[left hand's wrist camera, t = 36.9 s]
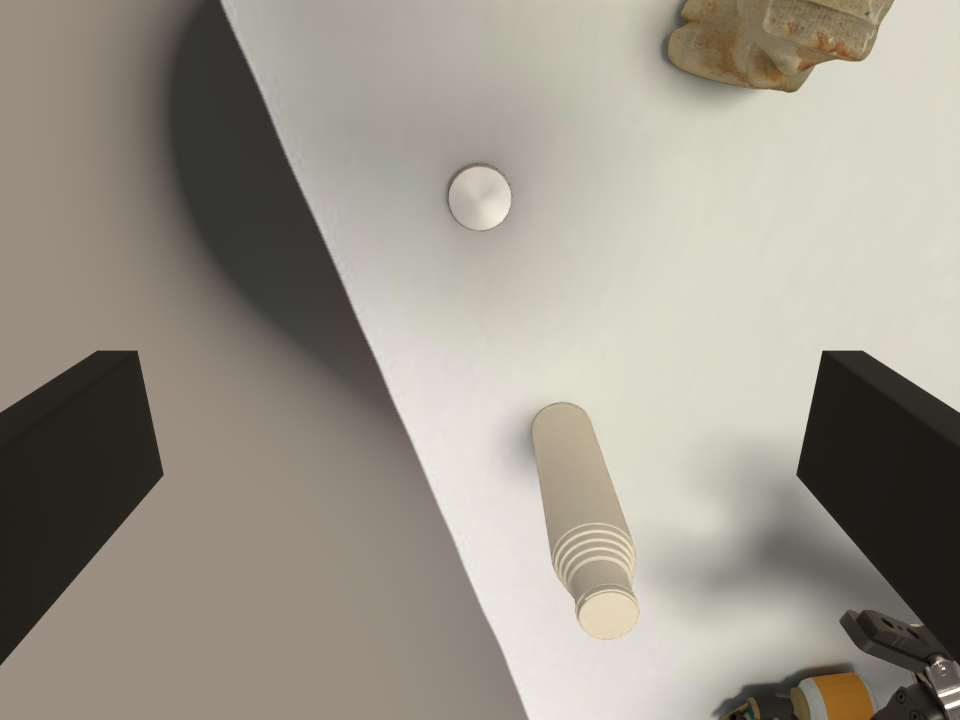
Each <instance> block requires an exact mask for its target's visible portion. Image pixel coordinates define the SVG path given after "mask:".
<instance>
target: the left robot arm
mask: <svg viewBox="0 0 960 720" xmlns="http://www.w3.org/2000/svg"><path fill="white" fill-rule="evenodd" d="M163 475H164V474H163V469H162V465H161V460H160V455H159V451H158V446H157V441H156V436H155V432H154V427H153V422H152V417H151V413H150V408H149V403H148V399H147V394H146V389H145V384H144V380H143V375H142V370H141V365H140V361H139V356H138V351H96V352H95V353H93V354H91V355H90V356H88V357H87V358H85V359H84V360H82V361H81V362H79V363H77V364H76V365H74V366H73V367H71V368H70V369H68V370H67V371H65V372H63V373H62V374H60V375H59V376H57V377H56V378H54V379H52V380H51V381H49V382H48V383H46V384H45V385H43V386H41V387H40V388H38V389H37V390H35V391H34V392H32V393H31V394H29V395H27V396H26V397H24V398H23V399H21V400H20V401H18V402H16V403H15V404H13V405H12V406H10V407H9V408H7V409H6V410H4V411H2V412H1V413H0V665H1V664H2V663H3V662H4V661H5V659H6V658H7V657H8V656H9V655H10V654H11V652H12V651H13V650H14V649H15V648H16V647H17V645H18V644H19V643H20V642H21V641H22V640H23V638H24V637H25V636H26V635H27V634H28V633H29V631H30V630H31V629H32V628H33V627H34V626H35V624H36V623H37V622H38V621H39V620H40V619H41V617H42V616H43V615H44V614H45V613H46V612H47V610H48V609H49V608H50V607H51V606H52V605H53V603H54V602H55V601H56V600H57V599H58V598H59V596H60V595H61V594H62V593H63V592H64V591H65V589H66V588H67V587H68V586H69V585H70V584H71V582H72V581H73V580H74V579H75V578H76V577H77V575H78V574H79V573H80V572H81V571H82V570H83V568H84V567H85V566H86V565H87V564H88V563H89V561H90V560H91V559H92V558H93V557H94V556H95V554H96V553H97V552H98V551H99V550H100V549H101V547H102V546H103V545H104V544H105V543H106V541H107V540H108V539H109V538H110V537H111V536H112V535H113V533H114V532H115V531H116V530H117V529H118V528H119V526H120V525H121V524H122V523H123V522H124V521H125V519H126V518H127V517H128V516H129V515H130V514H131V512H132V511H133V510H134V509H135V508H136V507H137V505H138V504H139V503H140V502H141V501H142V500H143V498H144V497H145V496H146V495H147V494H148V493H149V491H150V490H151V489H152V488H153V487H154V486H155V484H156V483H157V482H158V481H159V480H160V479H161V477H162V476H163ZM796 475H797V476H798V477H799V479H800V480H801V481H802V482H803V483H804V484H805V486H806V487H807V488H808V489H809V490H810V491H811V493H812V494H813V495H814V496H815V497H816V498H817V500H818V501H819V502H820V503H821V504H822V505H823V507H824V508H825V509H826V510H827V511H828V512H829V514H830V515H831V516H832V517H833V518H834V519H835V521H836V522H837V523H838V524H839V525H840V526H841V528H842V529H843V530H844V531H845V532H846V533H847V535H848V536H849V537H850V538H851V539H852V540H853V542H854V543H855V544H856V545H857V546H858V547H859V549H860V550H861V551H862V552H863V553H864V554H865V556H866V557H867V558H868V559H869V560H870V561H871V563H872V564H873V565H874V566H875V567H876V568H877V570H878V571H879V572H880V573H881V574H882V575H883V577H884V578H885V579H886V580H887V581H888V582H889V584H890V585H891V586H892V587H893V588H894V589H895V591H896V592H897V593H898V594H899V595H900V596H901V598H902V599H903V600H904V601H905V602H906V603H907V605H908V606H909V607H910V608H911V609H912V610H913V612H914V613H915V614H916V615H917V616H918V617H919V619H920V620H921V621H922V622H923V623H924V624H925V626H926V627H927V628H928V629H929V630H930V631H931V633H932V634H933V635H934V636H935V637H936V638H937V640H938V641H939V642H940V643H941V644H942V645H943V647H944V648H945V649H946V650H947V651H948V652H949V654H950V655H951V656H952V657H953V658H954V659H955V661H956V662H957V663H958V664H959V665H960V413H959V412H958V411H956V410H954V409H953V408H951V407H950V406H948V405H947V404H945V403H944V402H942V401H940V400H939V399H937V398H936V397H934V396H933V395H931V394H929V393H928V392H926V391H925V390H923V389H922V388H920V387H919V386H917V385H915V384H914V383H912V382H911V381H909V380H908V379H906V378H904V377H903V376H901V375H900V374H898V373H897V372H895V371H894V370H892V369H890V368H889V367H887V366H886V365H884V364H883V363H881V362H879V361H878V360H876V359H875V358H873V357H872V356H870V355H869V354H867V353H865V352H864V351H822V356H821V361H820V365H819V370H818V375H817V380H816V384H815V389H814V394H813V399H812V403H811V408H810V413H809V417H808V422H807V427H806V432H805V436H804V441H803V446H802V450H801V455H800V460H799V465H798V469H797V474H796Z"/></svg>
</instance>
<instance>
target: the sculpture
mask: <svg viewBox="0 0 960 720" xmlns="http://www.w3.org/2000/svg"><path fill="white" fill-rule="evenodd" d="M893 2H894V0H687V2H686V3H685V5H684V8H683V9H682V12H681V15H682V17H683V18H684V19H685V20H686V22H687V24H686V25H684V26H683V27H680V28H678V29H676V30H674V32H673V33H672V35H671V37H670V39H669V44H668V56H669V58H670V60H671V61H672V62H673V63H674V64H675V65H676V66H677V67H679V68H681V69H683V70H685V71H687V72H689V73H692V74H695V75H698V76H701V77H703V78H707V79H711V80H715V81H719V82H723V83H728V84H732V85H736V86H741V87H746V88H751V89H771V90H779V91H784V92H788V93H790V92H795V91H797V90H798V89H799V88H800V87H801V86H802V84H803V83H804V82H805V80H806V79H807V78H808V76H809V75H810V73H811V72H812V70H813V68H814V67H815V65H817V64H819V63H822V62H826V61H830V60H835V59H840V60H846V61H862V60H864V59H865V58H866V57H867V56H868V55H869V54H870V52H871V50H872V47H873V45H874V43H875V40H876V38H877V33H878V29H879V26H880V24H881V22H882V20H883V18H884V17H885V15H886V14H887V12H888V11H889V9H890V7H891V5H892V3H893Z"/></svg>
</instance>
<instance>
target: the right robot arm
mask: <svg viewBox="0 0 960 720" xmlns="http://www.w3.org/2000/svg"><path fill="white" fill-rule="evenodd" d="M839 622H840V624H841V625H842V626H843V628H844V629H845V631H846V632H847V634H848V635H849V637H850V638H851V639H852V641H853V642H854V644H855V645H856V646H857V647H858V648H859V649H861V650H862V651H864V652H865V653H867V654H870V655H872V656H875V657H877V658H880V659H882V660H885V661H888V662H890V663H893V664H895V665H898V666H900V667H903V668H905V669H908V670H910V671H911V674H912V677H913V679H914V682H915V684H913V685H911V686H909V687H907V688H905V687H902V686H901V687H900V688H899V689H898V690H897V691H896V692H895V693H894V694H893V695H892V697H891V699H890V701H889V702H888V704H887V706H886V707H884V708H883V709H881V710H880V711H878V712H877V713H875V714H874V715H873V716H872V717H871V718H870V719H869V720H960V677H959V676H958V673H957V670H956V667H955V665H954V663H953V661H954V660H955V659H954V658H953V657H952V656H951V655H950V654H949V652H948V651H947V650H946V649H945V648H944V647H943V645H942V644H941V643H940V642H939V641H938V640H937V638H936V637H935V636H934V635H933V634H932V633H931V631H930V630H929V629H928V628H927V627H926V626H925V625H923V626H921V625H920V624H910V625H908V624H906V623H903V622H901V621H898V620H896V619H893V618H891V617H889V616H886V615H883V614H881V613H879V612H876V611H873V610H863V611H862V612H861V614H859V613H856V612H854V611H851V610H848V611H847V612H846V613H845V614H844V615H843V616H842V618H841V619H840V620H839ZM753 720H761V719H758V718H753Z"/></svg>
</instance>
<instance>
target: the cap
mask: <svg viewBox="0 0 960 720" xmlns="http://www.w3.org/2000/svg"><path fill="white" fill-rule="evenodd" d="M448 191H449V195H448V202H449V208H450V211H451V213H452V215H453V216H454V218H455V219H456V220H457V221H458V222H459V223H460V224H461V225H462V226H464V227H466V228H468V229H471V230H475V231H485V230H489V229H492V228H494V227H496V226H498V225H499V224H500V223H501V222H502V221H503V220H504V219H505V218H506V216H507V215H508V213H509V210H510V207H511V201H512V193H511V190H510V184H509V183H508V182H507V180H506V178H505V175H503V174H502V173H501V172H500V171H499V170H498V169H497V168H494V167H492V166H489V165H488V164H487V165H485V164H478V163H477V164H475V165H471V166H467V167H466V168H464V169H463V170H461V171H459V173H458V174H457V175H456V177H455V178H454V179H453V180H452V184H451V187H450V188H449V190H448Z"/></svg>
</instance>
